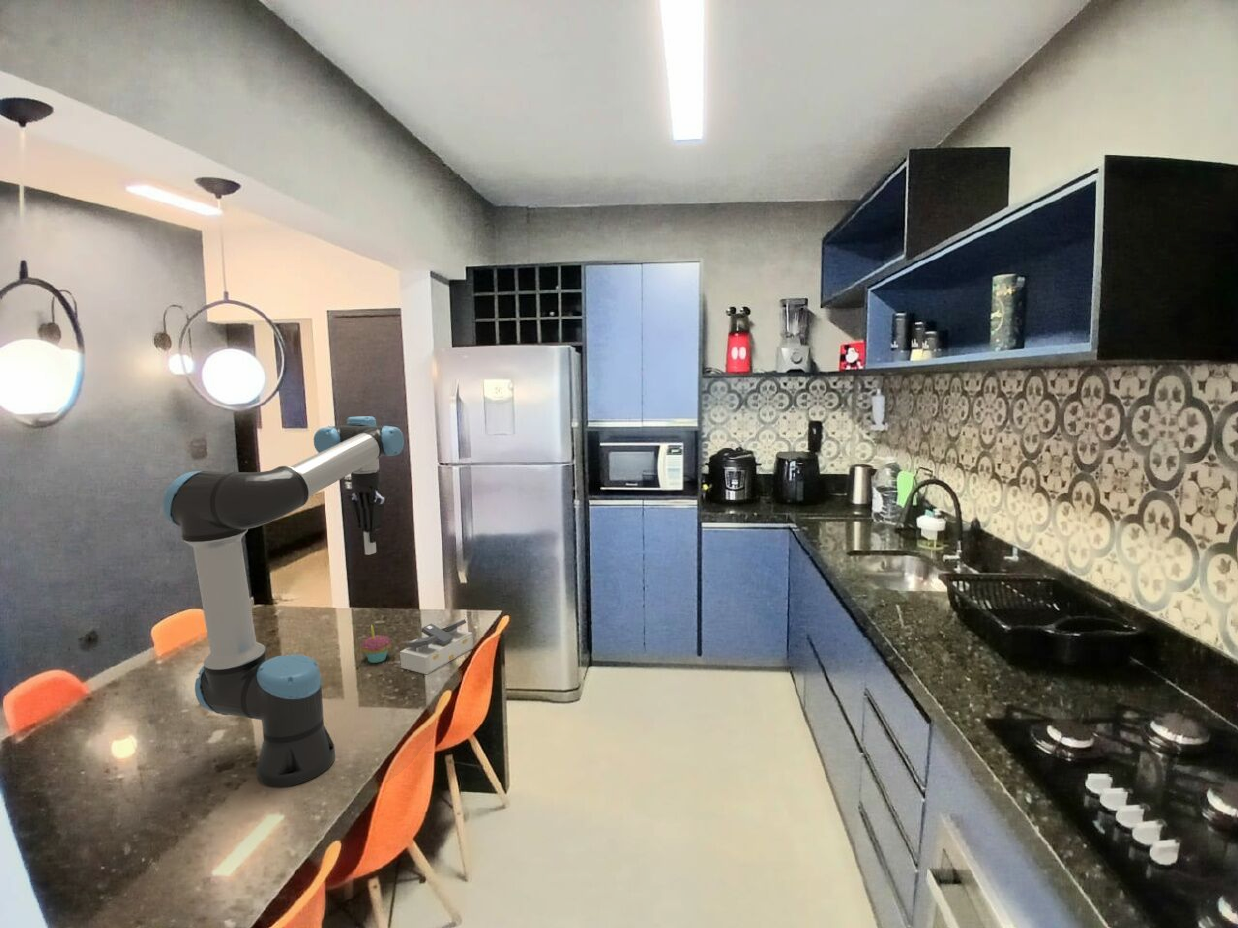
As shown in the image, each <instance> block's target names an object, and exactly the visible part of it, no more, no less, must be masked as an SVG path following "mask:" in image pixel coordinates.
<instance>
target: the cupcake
mask: <svg viewBox="0 0 1238 928" xmlns="http://www.w3.org/2000/svg"><path fill="white" fill-rule="evenodd" d="M370 625H371V626H370V629H371V630H370V631H371V636H370V637H367V638H366V639H365V640H363V641H362V643H361V645H360V646H361V651H362V653H363V654H365V656H366V657H367V660H368V662H369V663H373V664H376V663H381V662H383V661H385V660H386V658H387V654H388V651H389V649H390V648H391V647H392V642H391V639H390V638H389V637H388V636H385V635H381V634H375V630H374V625H373V624H372V623H371V624H370Z"/></svg>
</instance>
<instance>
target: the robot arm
mask: <svg viewBox="0 0 1238 928" xmlns="http://www.w3.org/2000/svg"><path fill="white" fill-rule="evenodd" d="M313 446H314V448H315V450H316V451H317V453H316V454H314V455H312V456H310V457H308V458H306V459H303V460H301V461H299V462H297V463H295V464H293V465H291V466H289V465H280V466H277V467H274V468H273V469H270V470H265V471H257V472H256V471H253V472H250V471H249V472H246V471H245V472H243V471H241V472H237V471H236V472H235V471H217V470H201V471H200V470H199V471H189V472H186V473H183V474H182V475H180V476H178V477H177V478H176V479H174V481H172V483H171V485H170V486H168V488H167V489H166V491H165V494H164V497H163V502H162V506H163V507H162V508H163V512H164V514H165V515H164V516H166V519H167V520H169V522H172V524H174V525H176V526H178V527H180V531H181V537H182V542H184V543H186V544H187V545H189V546H190V547H192V548H193V555H194V561H195V567H196V574H197V579H198V585H199V590H200V591H199V592H200V598H201V603H202V610H203V615H204V622H205V627H206V628H205V629H206V633H207V640H208V644H209V653H208V654H207V655H206V657H205V658H204V660H203V666H202V667H201V668H200V670H199V672H198V675H199V676H198V677H197V678H195V683H194V692H195V693H194V694H195V697H196V700H197V702H198V703H199V704H200V706H201V707H202V708H204V709H205V710H207V711H210V712H212V713H216V714H218V715H222V716H234V717H240V718H248V719H254V720H258V721H261V727H262V736H263V741H262V744H261V749H260V751H259V756H258V757H259V758H258V760H257V763H256V777H257V780H258V782H260V784H262V785H265V786H266V787H267V786H268V787H273V788H283V787H291V786H296V785H299V784H302V783H305V782H308V781H310V780H312V779H314V778H316V777H318V776H320V775H322V774H323V773H324V772H326V771H328V769H329V768H330V767H331V766H332V765H333V764H334V762H335V760H336V749H335V748H336V747H335V744H334V741H333V740H332V738H331V736H330V733H329V732H328V730H327V728H326V726H325V721H324V706H323V691H322V689H323V687H322V683H323V682H322V676H321V673H320V667H319V665H318V663H317V661H316V660H315V659H314V658H312V657H309V656H307V655H303V654H295V653H294V654H293V653H291V654H288V655H286V654H284V655H283V654H282V655H277V656H274V657H271V658H269V659H268V657H267V651H266V646H265V645H264V644H263V643H260V642H259V641H257V637H256V630H255V625H254V623H255V622H254V619H253V611H252V604H251V597H250V590H249V585H248V577H247V571H246V566H245V565H246V564H245V558H244V553H243V552H244V551H243V545H242V538H243V537H244V536H245V534H247V532H248V530H249V529H254V528H257V527H260V526H263V525H266V524H270V523H271V522H274V521H277V520H279V519H280V518H283V517H285V516H287V515H289V514H291V513H292V512H294V511H296V510H298V509H300V508H301V507H303V506H305V505H306V504H307V503H308V501H309V499H310V497H311V496H313V495H314V494H317V493H319V492H320V491H322V490H324V489H326V488H327V487H329V486H331V485H333V484H335V483H336V482H338V481H340V480H342V479H343V478H345V477H347V476H349V475H350V480H351V486H352V487H354V489H353V493H352V494H349V495H348V496H347V499H348V500H349V503H350V506H351V509H352V514H353V517H354V522H355V527H356V528H357V529H360V530H361V532H362V541H363V542H364V543H363V546H364V555H369V556H370V555H373V554H376V553H377V531H378V530H381V529H382V528H383V520H384V510H385V504H386V502H387V499H388V498H387V497H386V496H382V495H381V494H380V489H379V485H380V484H381V472H379V470H380V462H379V461H380V459H379V458H381V457H385V456H387V457H392V456H394V457H395V456H398V455H400V454H401V453H402V451H403V450H404V448H405V447H404V446H405V438H404V433H403V432H402V430H401V429H400V428H398V427H396V426H389V425H382V426H381V425H379V426H378V425H377V420H376V418H375V417H374V416H373V415H371V416H370V415H369V416H368V415H367V416H365V415H364V416H360V415H359V416H357V415H356V416H349V417H348V418H347V423H346V425H335V426H333V425H328V426H327V427H321V428H319V429H318V430H317V431H316V432H315V433H314V436H313Z"/></svg>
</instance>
